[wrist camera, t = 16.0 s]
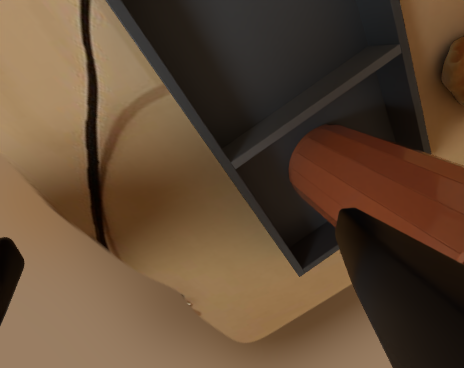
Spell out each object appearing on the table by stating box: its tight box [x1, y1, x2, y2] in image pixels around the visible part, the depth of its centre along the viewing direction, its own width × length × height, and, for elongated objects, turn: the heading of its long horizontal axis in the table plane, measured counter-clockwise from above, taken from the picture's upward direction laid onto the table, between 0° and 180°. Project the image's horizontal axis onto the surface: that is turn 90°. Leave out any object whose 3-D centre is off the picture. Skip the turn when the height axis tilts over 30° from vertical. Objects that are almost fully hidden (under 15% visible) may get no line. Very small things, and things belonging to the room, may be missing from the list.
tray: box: [106, 0, 432, 277], centre depth 19 cm, size 14×24×3 cm, turn 31°
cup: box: [289, 124, 464, 264], centre depth 17 cm, size 6×6×13 cm
